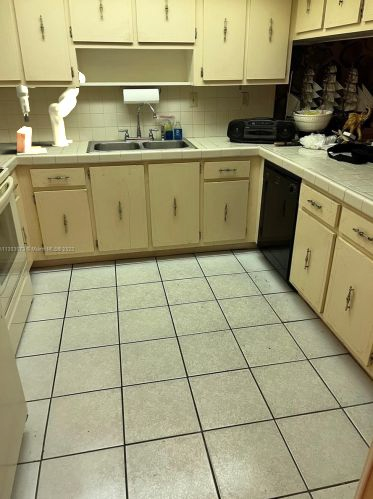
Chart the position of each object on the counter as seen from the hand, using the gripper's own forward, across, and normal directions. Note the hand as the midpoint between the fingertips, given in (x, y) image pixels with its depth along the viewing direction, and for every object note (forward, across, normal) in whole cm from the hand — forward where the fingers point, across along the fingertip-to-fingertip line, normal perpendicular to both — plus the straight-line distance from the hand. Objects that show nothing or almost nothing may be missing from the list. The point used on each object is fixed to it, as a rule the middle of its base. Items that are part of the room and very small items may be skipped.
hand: (27, 121), depth 274 cm
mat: (+20, -15, 0) cm, 25 cm away
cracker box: (+10, 0, +1) cm, 11 cm away
